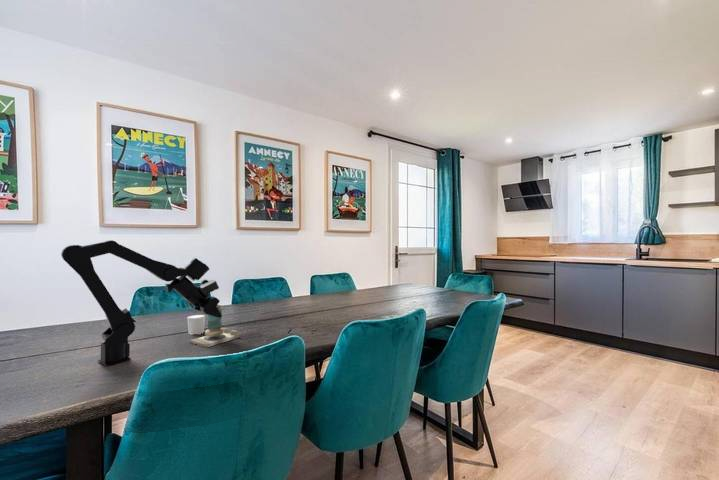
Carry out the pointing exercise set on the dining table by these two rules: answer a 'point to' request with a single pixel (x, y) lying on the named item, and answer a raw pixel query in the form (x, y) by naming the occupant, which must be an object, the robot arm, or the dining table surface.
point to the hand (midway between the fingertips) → (218, 315)
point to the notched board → (215, 338)
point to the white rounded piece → (196, 324)
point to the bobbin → (215, 324)
